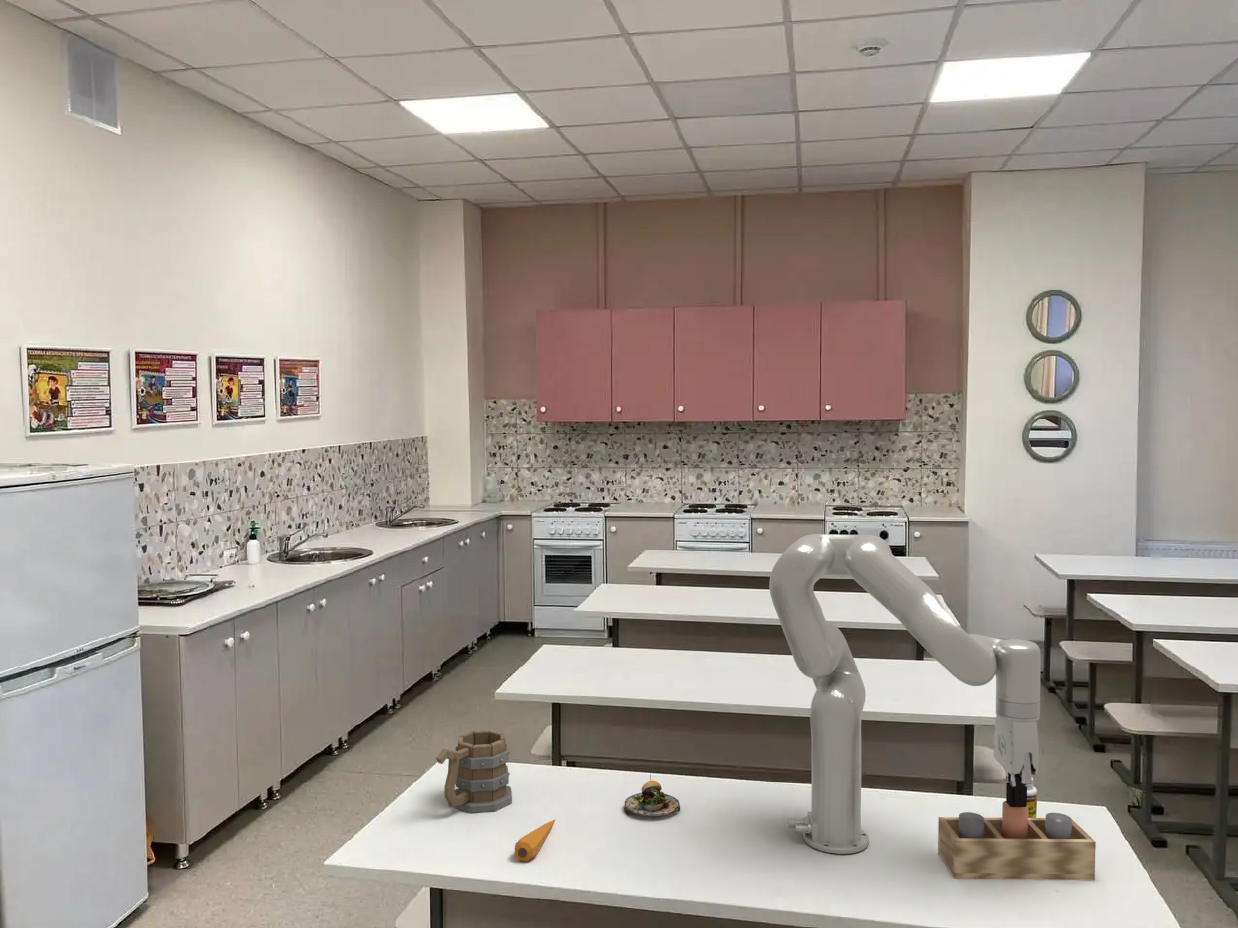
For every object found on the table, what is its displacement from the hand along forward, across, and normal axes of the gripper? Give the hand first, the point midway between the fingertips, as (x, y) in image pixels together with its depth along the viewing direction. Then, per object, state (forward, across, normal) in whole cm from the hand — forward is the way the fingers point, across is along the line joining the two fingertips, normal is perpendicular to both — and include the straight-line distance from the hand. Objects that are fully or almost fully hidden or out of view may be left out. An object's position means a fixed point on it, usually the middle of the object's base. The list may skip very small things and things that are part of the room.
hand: (1016, 804), depth 177 cm
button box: (+12, 0, 0) cm, 12 cm away
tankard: (+11, -25, -106) cm, 110 cm away
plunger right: (+9, 0, +8) cm, 12 cm away
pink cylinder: (+7, 0, 0) cm, 7 cm away
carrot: (+11, -9, -89) cm, 91 cm away
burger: (+12, -24, -67) cm, 72 cm away
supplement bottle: (+12, -17, +8) cm, 22 cm away
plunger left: (+9, 0, -8) cm, 12 cm away
